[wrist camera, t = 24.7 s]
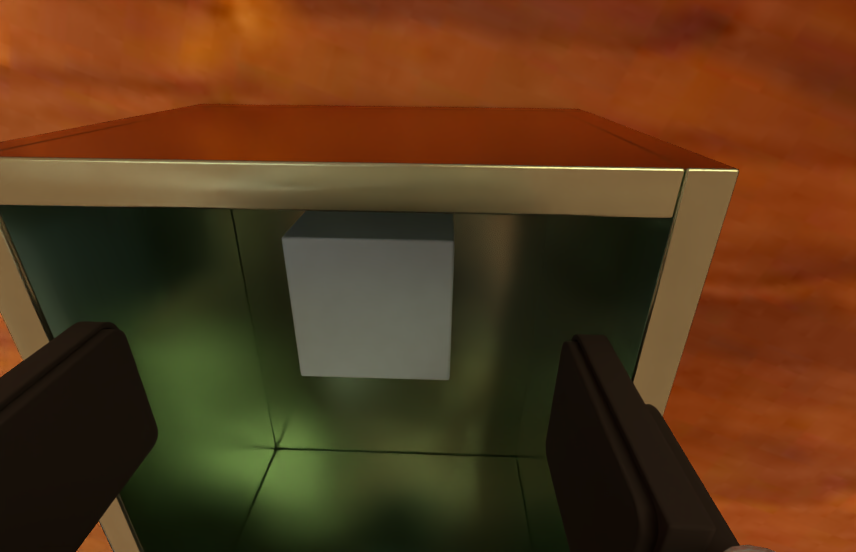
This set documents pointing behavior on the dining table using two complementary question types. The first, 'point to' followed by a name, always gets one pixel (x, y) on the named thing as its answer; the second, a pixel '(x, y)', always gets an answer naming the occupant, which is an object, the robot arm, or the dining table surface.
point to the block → (372, 293)
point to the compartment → (273, 321)
